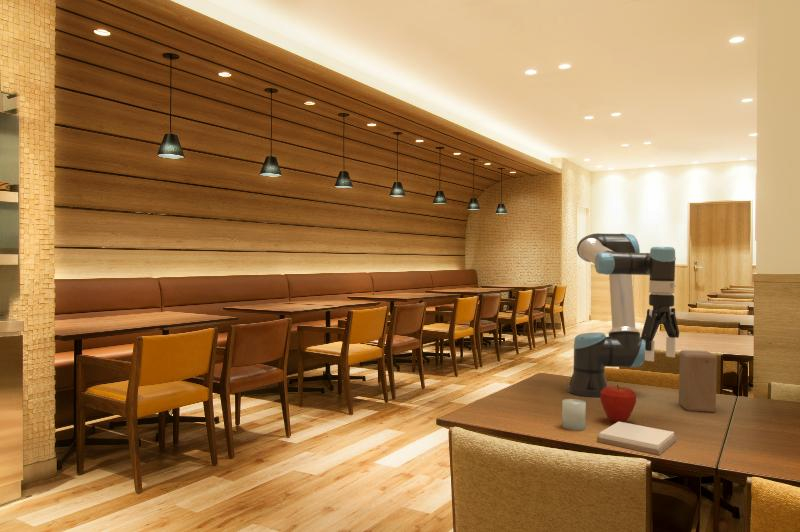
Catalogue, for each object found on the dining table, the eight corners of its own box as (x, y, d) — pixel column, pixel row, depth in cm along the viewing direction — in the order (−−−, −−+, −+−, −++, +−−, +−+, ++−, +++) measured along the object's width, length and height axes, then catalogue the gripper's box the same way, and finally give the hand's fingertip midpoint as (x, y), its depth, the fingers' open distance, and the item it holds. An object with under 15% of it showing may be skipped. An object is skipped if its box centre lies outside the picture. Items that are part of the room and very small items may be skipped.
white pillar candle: (557, 426, 182) (557, 400, 182) (571, 422, 186) (572, 397, 186) (575, 431, 176) (576, 405, 176) (590, 428, 181) (590, 402, 180)
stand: (596, 441, 167) (596, 433, 167) (617, 428, 180) (617, 420, 180) (659, 455, 156) (659, 445, 156) (676, 440, 169) (676, 431, 169)
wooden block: (716, 413, 201) (718, 355, 201) (685, 411, 203) (686, 353, 203) (707, 405, 211) (708, 350, 211) (677, 404, 213) (679, 349, 213)
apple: (616, 428, 181) (617, 389, 181) (592, 419, 191) (593, 382, 191) (643, 424, 185) (644, 386, 185) (618, 416, 195) (619, 380, 195)
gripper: (653, 295, 180) (651, 364, 180) (691, 293, 195) (689, 356, 195) (630, 294, 185) (629, 360, 186) (669, 292, 201) (667, 353, 201)
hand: (660, 358), depth 191 cm, fingers open, 13 cm apart
